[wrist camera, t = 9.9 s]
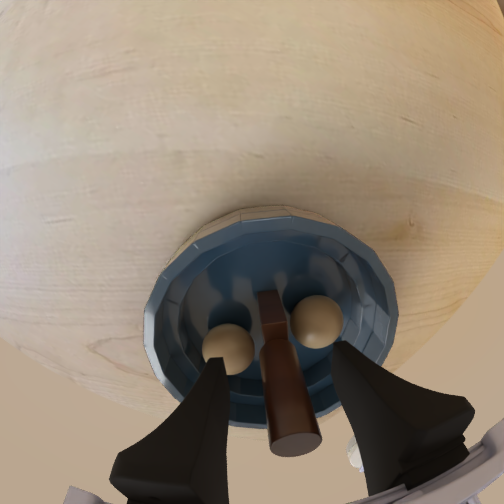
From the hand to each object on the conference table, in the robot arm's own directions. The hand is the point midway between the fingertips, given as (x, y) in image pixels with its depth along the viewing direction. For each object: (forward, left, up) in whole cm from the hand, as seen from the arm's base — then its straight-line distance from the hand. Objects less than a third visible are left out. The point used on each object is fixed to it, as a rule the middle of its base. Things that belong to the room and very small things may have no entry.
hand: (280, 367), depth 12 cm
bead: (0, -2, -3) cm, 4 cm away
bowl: (0, 0, -5) cm, 5 cm away
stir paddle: (0, 0, -4) cm, 5 cm away
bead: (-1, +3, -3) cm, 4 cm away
